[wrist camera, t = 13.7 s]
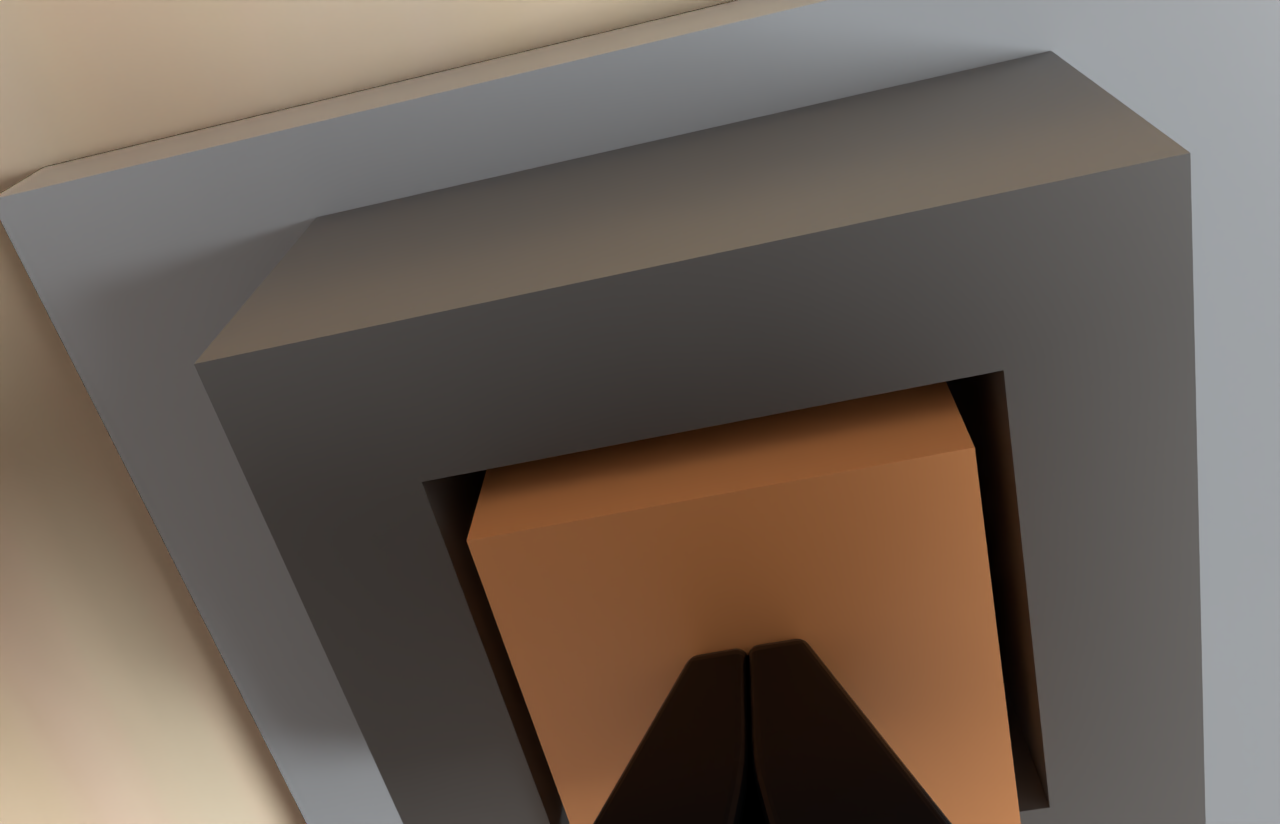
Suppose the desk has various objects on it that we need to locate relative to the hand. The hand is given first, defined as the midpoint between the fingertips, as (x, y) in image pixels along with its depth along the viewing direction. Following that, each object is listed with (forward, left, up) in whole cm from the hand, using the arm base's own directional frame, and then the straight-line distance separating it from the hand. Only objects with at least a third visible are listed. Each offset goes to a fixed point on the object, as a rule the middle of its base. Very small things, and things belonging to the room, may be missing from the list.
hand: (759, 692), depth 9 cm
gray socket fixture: (-8, 0, -4) cm, 9 cm away
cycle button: (0, 0, -3) cm, 3 cm away
